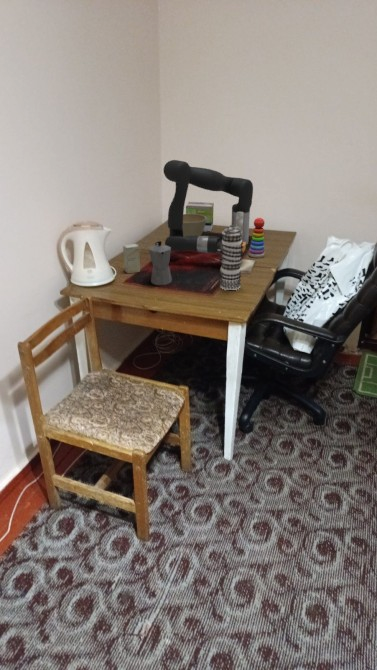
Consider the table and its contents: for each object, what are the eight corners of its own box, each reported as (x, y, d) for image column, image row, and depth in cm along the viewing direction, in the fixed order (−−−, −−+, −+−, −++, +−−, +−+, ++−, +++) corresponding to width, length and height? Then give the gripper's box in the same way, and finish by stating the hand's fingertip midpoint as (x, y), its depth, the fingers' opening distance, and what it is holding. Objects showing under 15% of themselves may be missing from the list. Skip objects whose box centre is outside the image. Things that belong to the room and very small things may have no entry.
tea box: (185, 231, 265) (185, 205, 258) (188, 226, 274) (188, 201, 267) (211, 232, 263) (211, 206, 256) (213, 227, 272) (213, 202, 264)
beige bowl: (185, 233, 261) (185, 212, 255) (212, 238, 252) (212, 216, 246) (166, 241, 248) (165, 219, 242) (193, 247, 239) (193, 224, 233)
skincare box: (128, 274, 207) (126, 248, 201) (124, 270, 211) (122, 245, 205) (141, 271, 210) (139, 245, 204) (137, 268, 213) (135, 243, 207)
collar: (231, 251, 207) (231, 244, 205) (233, 247, 211) (233, 241, 210) (243, 252, 205) (243, 245, 204) (245, 248, 210) (245, 242, 209)
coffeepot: (175, 286, 194) (173, 245, 185) (153, 288, 192) (150, 247, 184) (168, 273, 207) (166, 234, 198) (147, 275, 205) (145, 236, 197)
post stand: (219, 271, 208) (221, 215, 196) (226, 261, 220) (227, 207, 208) (250, 274, 205) (253, 217, 192) (254, 263, 217) (258, 209, 204)
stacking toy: (264, 258, 222) (266, 220, 213) (247, 258, 223) (249, 220, 214) (265, 253, 229) (267, 216, 220) (249, 252, 230) (251, 215, 221)
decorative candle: (244, 289, 190) (247, 230, 177) (223, 292, 187) (225, 232, 175) (236, 281, 197) (238, 224, 185) (216, 284, 195) (217, 226, 183)
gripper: (204, 241, 203) (240, 243, 199) (211, 232, 215) (245, 234, 211) (204, 257, 207) (239, 260, 203) (211, 247, 219) (245, 249, 215)
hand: (242, 246), depth 207 cm, fingers open, 8 cm apart
